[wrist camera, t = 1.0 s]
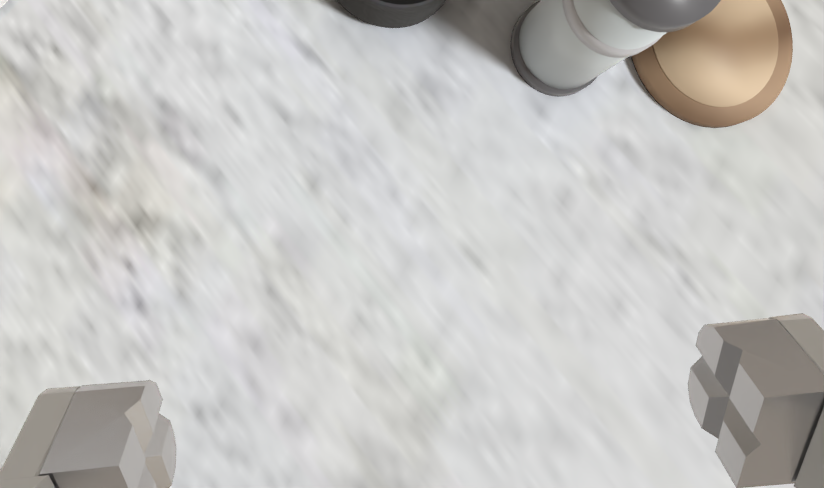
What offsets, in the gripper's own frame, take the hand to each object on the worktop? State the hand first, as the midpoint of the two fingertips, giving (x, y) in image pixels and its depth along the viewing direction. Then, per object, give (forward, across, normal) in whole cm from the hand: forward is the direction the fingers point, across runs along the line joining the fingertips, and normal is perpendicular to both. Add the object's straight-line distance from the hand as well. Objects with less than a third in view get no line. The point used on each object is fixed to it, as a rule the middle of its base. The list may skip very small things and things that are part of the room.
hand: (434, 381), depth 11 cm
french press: (+39, -13, +8) cm, 42 cm away
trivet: (+41, -25, +9) cm, 49 cm away
